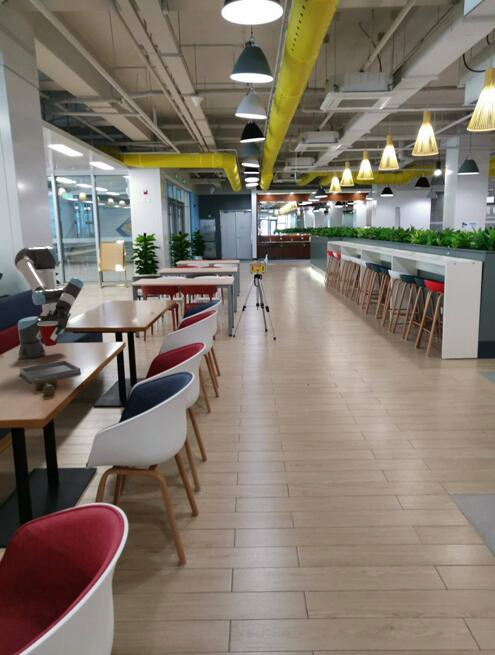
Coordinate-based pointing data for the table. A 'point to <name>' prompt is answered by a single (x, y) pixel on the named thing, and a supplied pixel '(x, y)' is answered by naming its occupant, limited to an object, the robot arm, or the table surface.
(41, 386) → the kendama
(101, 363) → the table surface
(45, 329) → the plastic cup
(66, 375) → the grey tray
